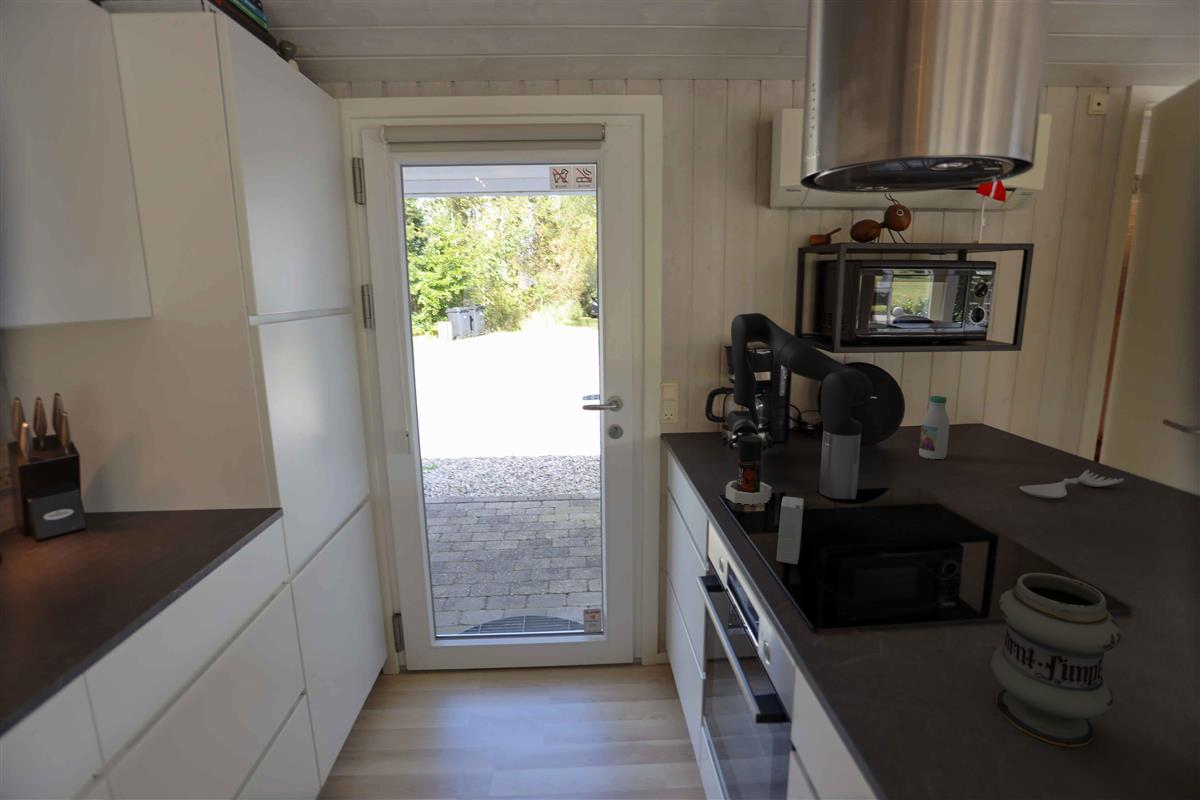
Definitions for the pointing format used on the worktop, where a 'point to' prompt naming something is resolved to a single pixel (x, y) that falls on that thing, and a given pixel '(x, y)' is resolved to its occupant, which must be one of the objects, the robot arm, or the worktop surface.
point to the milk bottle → (935, 430)
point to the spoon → (1059, 488)
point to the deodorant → (749, 464)
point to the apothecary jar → (1054, 658)
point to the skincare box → (790, 530)
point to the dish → (748, 494)
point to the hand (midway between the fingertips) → (747, 447)
